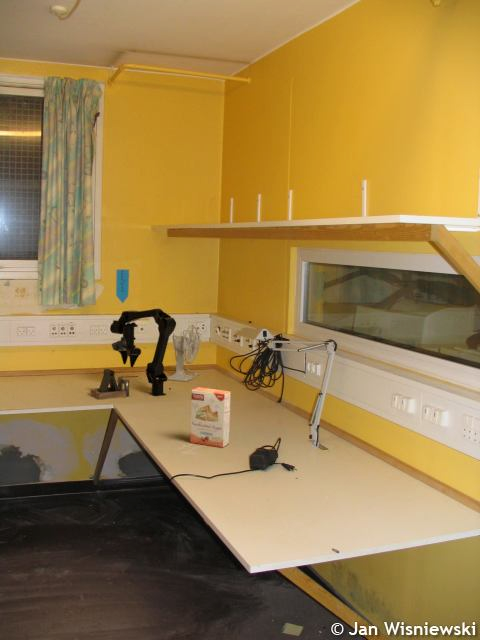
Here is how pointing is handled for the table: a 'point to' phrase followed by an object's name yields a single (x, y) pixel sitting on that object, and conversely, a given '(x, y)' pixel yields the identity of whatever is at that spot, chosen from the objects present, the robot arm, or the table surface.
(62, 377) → the table surface
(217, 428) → the cracker box
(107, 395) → the cradle
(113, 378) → the phone stand
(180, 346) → the pale grey desk fan
